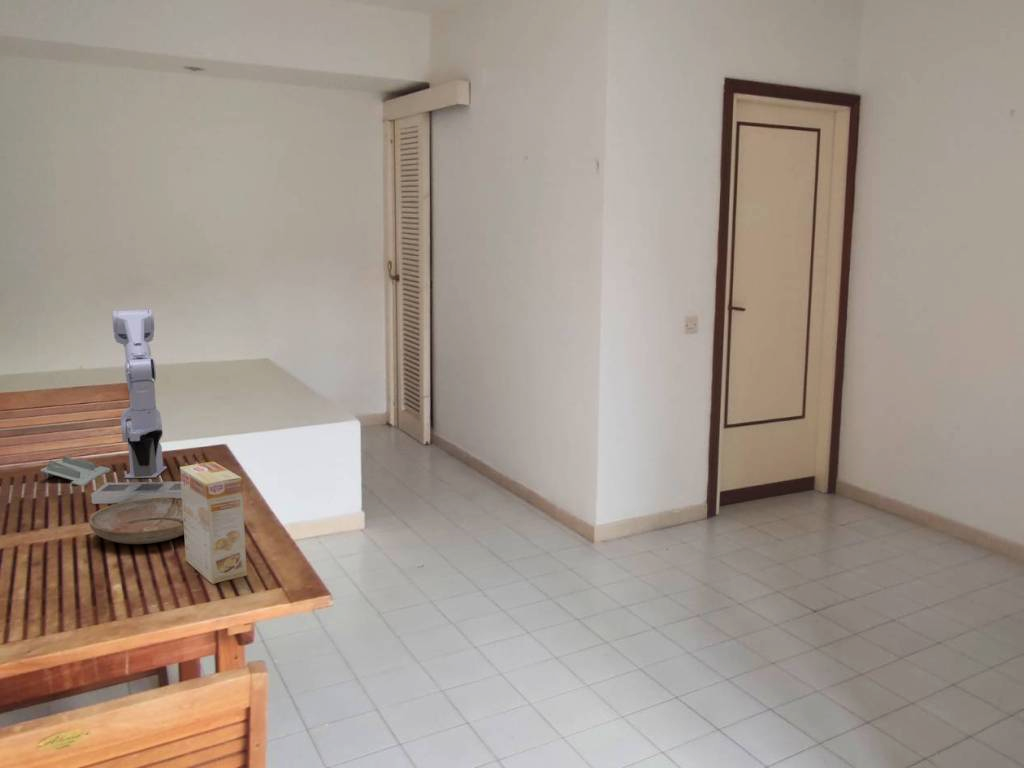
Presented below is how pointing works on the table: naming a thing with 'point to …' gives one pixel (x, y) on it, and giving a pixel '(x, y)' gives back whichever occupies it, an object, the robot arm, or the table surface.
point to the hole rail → (135, 491)
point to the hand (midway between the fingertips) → (147, 462)
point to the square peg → (145, 470)
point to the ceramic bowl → (140, 521)
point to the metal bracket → (74, 470)
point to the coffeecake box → (213, 521)
